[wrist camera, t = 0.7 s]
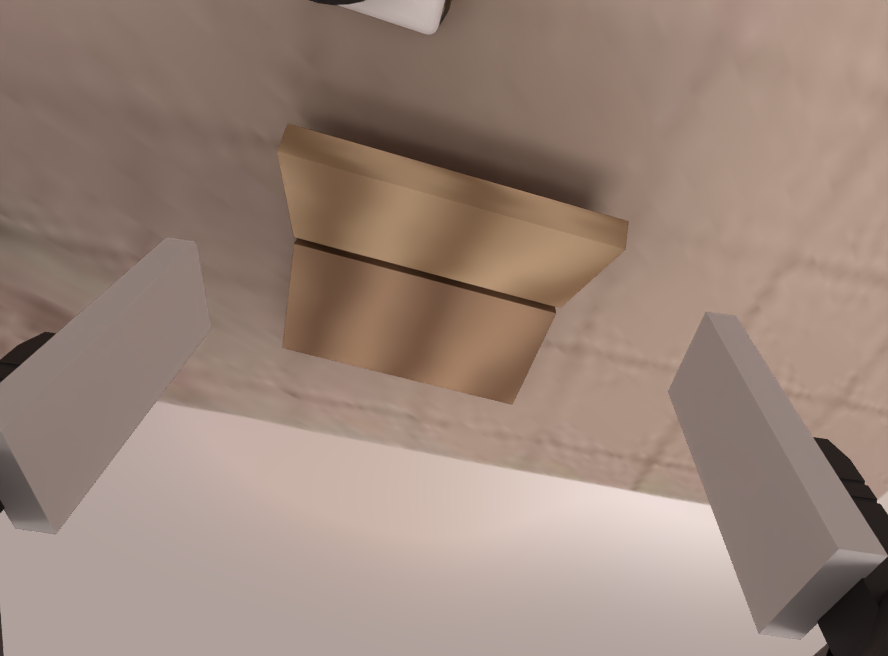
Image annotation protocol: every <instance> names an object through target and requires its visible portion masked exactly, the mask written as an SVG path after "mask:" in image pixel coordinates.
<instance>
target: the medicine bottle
mask: <svg viewBox="0 0 888 656" xmlns="http://www.w3.org/2000/svg"><path fill="white" fill-rule="evenodd" d="M310 1H313V2H317V3H321V4H329V5H338V6H341V7H344V8H347V9H350V10H353V11H356V12H359V13H362V14H365V15H369V16H372V17H375V18H378V19H381V20H384V21H387V22H390V23H393V24H396V25H399V26H402V27H405V28H408V29H411V30H414V31H417V32H420V33H423V34H427V35H432V34H433V33H435V32H436V31H437V29H438V28H439V26H440V24H441V22H442V21H443V19H444V17H445V16H446V14H447V12H448V10H449V8H450V4H451V0H310Z"/></svg>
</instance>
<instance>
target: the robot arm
mask: <svg viewBox="0 0 888 656" xmlns="http://www.w3.org/2000/svg"><path fill="white" fill-rule="evenodd" d="M210 330H211V322H210V317H209V311H208V305H207V300H206V294H205V289H204V283H203V277H202V272H201V266H200V260H199V255H198V249H197V244H196V241H190V240H183V239H176V238H168V237H166V238H165V239H164V240H163V241H162V242H161V243H159V244H158V245H157V246H156V247H155V248H154V249H153V250H151V251H150V252H149V253H148V254H147V255H146V256H145V257H143V258H142V259H141V260H140V261H139V262H138V263H137V264H135V265H134V266H133V267H132V268H131V269H130V270H129V271H127V272H126V273H125V274H124V275H123V276H122V277H121V278H119V279H118V280H117V281H116V282H115V283H114V284H113V285H111V286H110V287H109V288H108V289H107V290H106V291H105V292H103V293H102V294H101V295H100V296H99V297H98V298H97V299H95V300H94V301H93V302H92V303H91V304H90V305H89V306H87V307H86V308H85V309H84V310H83V311H82V312H81V313H79V314H78V315H77V316H76V317H75V318H74V319H73V320H71V321H70V322H69V323H68V324H67V325H66V326H65V327H63V328H62V329H61V330H60V331H59V332H58V333H50V332H44V333H42V334H40V335H38V336H36V337H34V338H32V339H30V340H28V341H25V342H23V343H21V344H19V345H18V346H16V347H15V348H14V349H13V350H12V351H10V352H9V353H8V354H7V355H6V356H4V357H3V358H2V359H1V360H0V513H1V512H2V511H3V509H4V511H5V512H6V514H7V516H8V517H9V519H10V520H11V522H12V524H13V526H14V527H15V528H16V529H22V530H29V531H36V532H43V533H51V534H57V532H58V531H59V529H60V528H61V527H62V526H63V524H64V523H65V522H66V520H67V519H68V518H69V516H70V515H71V514H72V512H73V511H74V510H75V508H76V507H77V506H78V504H79V503H80V502H81V500H82V499H83V498H84V497H85V495H86V494H87V493H88V491H89V490H90V488H91V487H92V486H93V485H94V483H95V482H96V480H97V479H98V478H99V477H100V475H101V474H102V473H103V471H104V470H105V469H106V467H107V466H108V465H109V463H110V462H111V461H112V459H113V458H114V457H115V455H116V454H117V452H118V451H119V450H120V449H121V447H122V446H123V445H124V443H125V442H126V441H127V440H128V438H129V437H130V436H131V434H132V433H133V432H134V430H135V429H136V428H137V426H138V425H139V424H140V422H141V421H142V420H143V418H144V417H145V416H146V414H147V413H148V412H149V410H150V409H151V408H152V406H153V405H154V404H155V402H156V401H157V400H158V398H159V397H160V396H161V394H162V393H163V392H164V390H165V389H166V388H167V387H168V385H169V384H170V383H171V381H172V380H173V379H174V377H175V376H176V375H177V373H178V372H179V371H180V369H181V368H182V367H183V365H184V364H185V363H186V361H187V360H188V359H189V357H190V356H191V355H192V353H193V352H194V351H195V349H196V348H197V347H198V345H199V344H200V343H201V341H202V340H203V339H204V337H205V336H206V335H207V333H208V332H209V331H210ZM668 393H669V396H670V398H671V401H672V404H673V406H674V409H675V412H676V414H677V417H678V420H679V422H680V425H681V428H682V430H683V433H684V436H685V438H686V441H687V444H688V446H689V449H690V452H691V454H692V457H693V460H694V462H695V465H696V468H697V470H698V473H699V476H700V478H701V481H702V484H703V486H704V489H705V492H706V494H707V497H708V500H709V502H710V505H711V507H712V510H713V513H714V516H715V518H716V521H717V523H718V526H719V529H720V531H721V534H722V537H723V540H724V542H725V545H726V548H727V550H728V553H729V555H730V558H731V561H732V564H733V566H734V569H735V571H736V574H737V577H738V579H739V582H740V585H741V588H742V590H743V593H744V595H745V598H746V601H747V603H748V606H749V609H750V611H751V614H752V617H753V620H754V622H755V625H756V627H757V630H758V633H759V634H763V635H770V636H777V637H784V638H792V639H799V640H801V638H803V637H804V636H805V635H806V634H807V633H808V632H809V631H810V630H811V629H812V628H813V627H814V626H815V625H816V624H817V623H818V625H819V627H820V629H821V631H822V633H823V635H824V637H825V639H826V642H827V644H826V645H825V646H824V647H823V648H822V649H820V650H819V651H818V652H817V653H816V654H815V655H814V656H888V514H887V513H886V512H885V510H884V509H883V507H882V506H881V504H878V503H877V498H876V497H875V495H874V494H873V492H872V491H871V489H870V488H869V486H867V485H865V484H864V482H865V481H864V479H863V478H862V476H861V475H860V473H859V472H858V470H857V469H856V467H855V466H854V464H853V463H852V461H851V460H850V459H849V458H848V457H847V456H846V455H845V454H843V453H842V452H841V451H840V450H839V449H838V448H837V447H836V446H835V445H833V444H832V443H831V442H830V441H829V440H828V439H822V438H815V437H812V435H811V433H810V432H809V430H808V429H807V427H806V425H805V424H804V422H803V421H802V419H801V418H800V416H799V414H798V413H797V411H796V410H795V408H794V407H793V405H792V403H791V402H790V400H789V399H788V397H787V396H786V394H785V392H784V391H783V389H782V388H781V386H780V385H779V383H778V381H777V380H776V378H775V377H774V375H773V374H772V372H771V370H770V369H769V367H768V366H767V364H766V362H765V361H764V359H763V358H762V356H761V355H760V353H759V351H758V350H757V348H756V347H755V345H754V344H753V342H752V340H751V339H750V337H749V336H748V334H747V333H746V331H745V329H744V328H743V326H742V325H741V323H740V322H739V320H738V318H737V317H736V316H734V315H727V314H720V313H712V312H705V315H704V317H703V319H702V321H701V323H700V325H699V327H698V329H697V331H696V334H695V336H694V338H693V340H692V342H691V344H690V346H689V348H688V350H687V352H686V355H685V357H684V359H683V361H682V363H681V365H680V367H679V369H678V371H677V374H676V376H675V378H674V380H673V382H672V384H671V386H670V388H669V390H668ZM0 656H4V655H3V641H2V628H1V614H0Z"/></svg>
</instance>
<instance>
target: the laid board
mask: <svg viewBox="0 0 888 656" xmlns="http://www.w3.org/2000/svg"><path fill="white" fill-rule="evenodd" d="M555 315H556V310H555V307H554V306H551V305H547V304H543V303H539V302H536V301H532V300H528V299H524V298H521V297H517V296H513V295H509V294H506V293H502V292H498V291H494V290H491V289H487V288H483V287H479V286H476V285H472V284H468V283H464V282H461V281H457V280H453V279H449V278H446V277H442V276H438V275H435V274H431V273H427V272H423V271H420V270H416V269H412V268H408V267H405V266H401V265H397V264H393V263H390V262H386V261H382V260H378V259H375V258H371V257H367V256H363V255H360V254H356V253H352V252H348V251H345V250H341V249H337V248H333V247H330V246H326V245H322V244H319V243H315V242H311V241H307V240H304V239H300V238H298V239H297V240H296V242H295V243H294V250H293V259H292V268H291V277H290V285H289V294H288V303H287V312H286V321H285V330H284V339H283V348H284V349H288V350H292V351H296V352H300V353H305V354H309V355H313V356H317V357H321V358H325V359H329V360H333V361H337V362H341V363H345V364H349V365H353V366H357V367H361V368H365V369H369V370H373V371H378V372H382V373H386V374H390V375H394V376H398V377H402V378H406V379H410V380H414V381H418V382H422V383H426V384H430V385H434V386H438V387H442V388H446V389H451V390H455V391H459V392H463V393H467V394H471V395H475V396H479V397H483V398H487V399H491V400H495V401H499V402H503V403H507V404H511V405H512V404H513V402H514V400H515V398H516V396H517V394H518V392H519V390H520V388H521V386H522V384H523V382H524V379H525V377H526V375H527V373H528V371H529V369H530V367H531V365H532V363H533V361H534V359H535V356H536V354H537V352H538V350H539V348H540V346H541V344H542V342H543V340H544V338H545V336H546V333H547V331H548V329H549V327H550V325H551V323H552V321H553V319H554V317H555Z"/></svg>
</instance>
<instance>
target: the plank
mask: <svg viewBox="0 0 888 656" xmlns="http://www.w3.org/2000/svg"><path fill="white" fill-rule="evenodd" d="M277 153H278V158H279V163H280V169H281V174H282V179H283V184H284V189H285V194H286V199H287V204H288V209H289V214H290V219H291V224H292V230H293V235H294V237H296V238H300V239H304V240H307V241H311V242H315V243H319V244H322V245H326V246H330V247H333V248H337V249H341V250H345V251H348V252H352V253H356V254H360V255H363V256H367V257H371V258H375V259H378V260H382V261H386V262H390V263H393V264H397V265H401V266H405V267H408V268H412V269H416V270H420V271H423V272H427V273H431V274H435V275H438V276H442V277H446V278H449V279H453V280H457V281H461V282H464V283H468V284H472V285H476V286H479V287H483V288H487V289H491V290H494V291H498V292H502V293H506V294H509V295H513V296H517V297H521V298H524V299H528V300H532V301H536V302H539V303H543V304H547V305H551V306H554V307H558V308H561V307H562V306H563V305H564V304H565V303H566V302H567V301H569V300H570V299H571V298H572V297H573V296H574V295H575V294H576V293H577V292H579V291H580V290H581V289H582V288H583V287H584V286H585V285H586V284H588V283H589V282H590V281H591V280H592V279H593V278H594V277H595V276H596V275H598V274H599V273H600V272H601V271H602V270H603V269H604V268H605V267H607V266H608V265H609V264H610V263H611V262H612V261H613V260H614V259H615V258H617V257H618V256H619V255H620V254H621V253H622V252H623V251H624V250H625V249H626V240H627V230H628V221H625V220H622V219H618V218H615V217H611V216H608V215H604V214H601V213H597V212H594V211H590V210H587V209H584V208H580V207H577V206H573V205H570V204H566V203H563V202H559V201H556V200H552V199H549V198H545V197H542V196H538V195H535V194H531V193H528V192H524V191H521V190H517V189H514V188H510V187H507V186H503V185H500V184H497V183H493V182H490V181H486V180H483V179H479V178H476V177H472V176H469V175H465V174H462V173H458V172H455V171H451V170H448V169H444V168H441V167H437V166H434V165H430V164H427V163H423V162H420V161H416V160H413V159H410V158H406V157H403V156H399V155H396V154H392V153H389V152H385V151H382V150H378V149H375V148H371V147H368V146H364V145H361V144H357V143H354V142H350V141H347V140H343V139H340V138H336V137H333V136H329V135H326V134H323V133H319V132H316V131H312V130H309V129H305V128H302V127H298V126H295V125H291V124H287V127H286V129H285V132H284V134H283V137H282V140H281V142H280V145H279V148H278V150H277Z"/></svg>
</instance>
